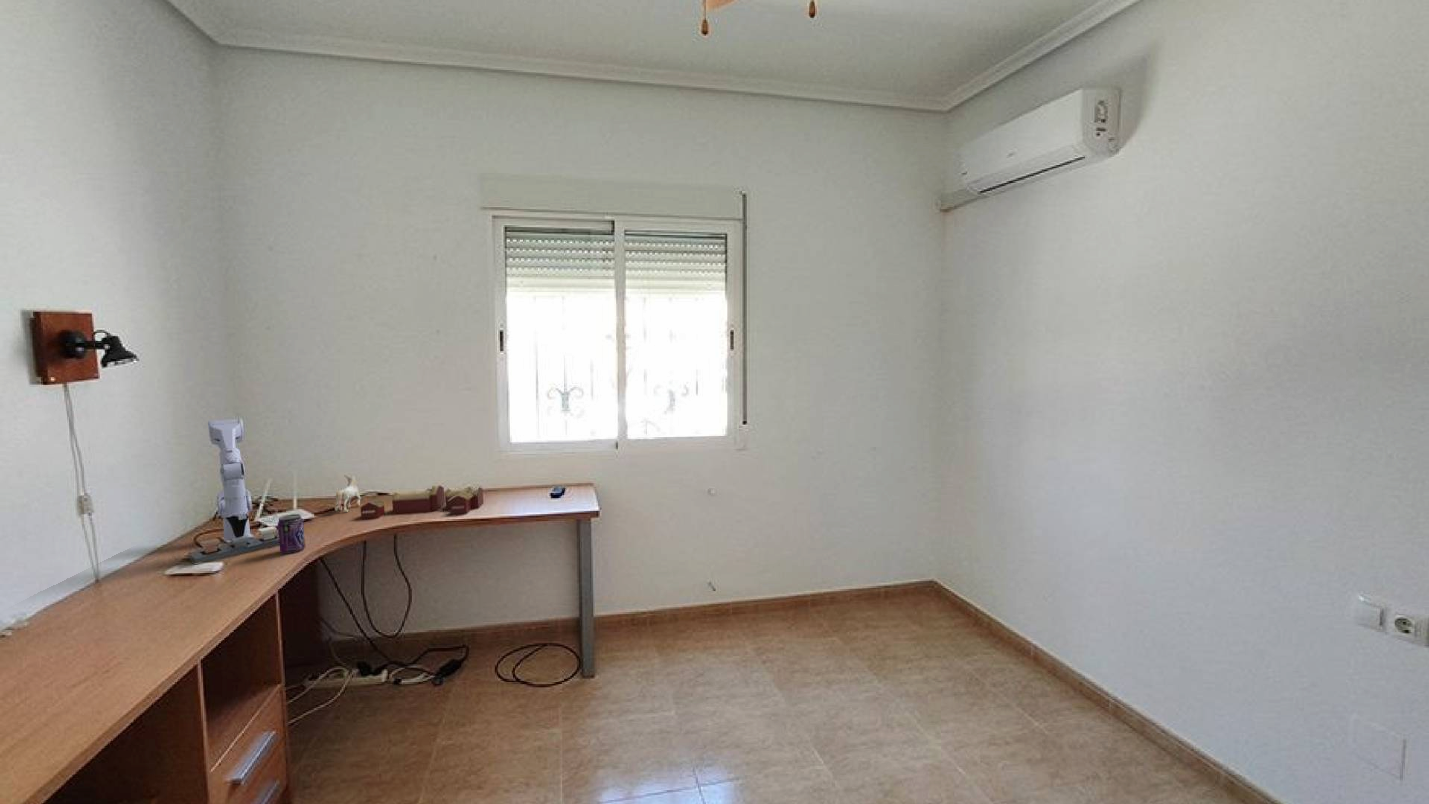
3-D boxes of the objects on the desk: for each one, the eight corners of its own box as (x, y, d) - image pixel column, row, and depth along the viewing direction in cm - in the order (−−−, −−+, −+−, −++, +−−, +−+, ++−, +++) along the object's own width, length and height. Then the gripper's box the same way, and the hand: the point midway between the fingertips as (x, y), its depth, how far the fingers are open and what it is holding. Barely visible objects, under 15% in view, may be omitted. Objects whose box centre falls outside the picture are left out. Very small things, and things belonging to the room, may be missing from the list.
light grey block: (231, 547, 207) (229, 537, 207) (246, 543, 211) (245, 534, 210) (234, 550, 205) (233, 540, 204) (250, 546, 208) (249, 536, 208)
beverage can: (292, 554, 202) (289, 520, 201) (275, 553, 203) (271, 519, 202) (310, 547, 209) (307, 514, 207) (293, 546, 210) (290, 513, 209)
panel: (188, 558, 201) (188, 552, 201) (281, 537, 221) (280, 532, 221) (195, 564, 195) (194, 558, 194) (289, 543, 214) (289, 537, 214)
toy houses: (485, 502, 265) (483, 479, 264) (472, 515, 245) (470, 490, 244) (377, 508, 260) (375, 485, 259) (355, 522, 239) (352, 497, 238)
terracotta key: (200, 551, 201) (199, 541, 201) (217, 547, 204) (216, 538, 204) (203, 554, 198) (202, 544, 198) (220, 550, 202) (219, 540, 201)
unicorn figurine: (364, 502, 270) (362, 473, 269) (353, 513, 251) (351, 482, 250) (346, 504, 268) (343, 474, 266) (334, 515, 249) (331, 484, 248)
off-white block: (258, 538, 213) (257, 529, 213) (273, 535, 217) (272, 526, 216) (262, 541, 211) (261, 531, 210) (277, 537, 214) (276, 528, 214)
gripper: (215, 497, 208) (219, 535, 209) (225, 503, 198) (230, 543, 200) (240, 493, 213) (244, 530, 214) (252, 499, 204) (256, 538, 205)
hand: (239, 536), depth 207 cm, fingers closed
